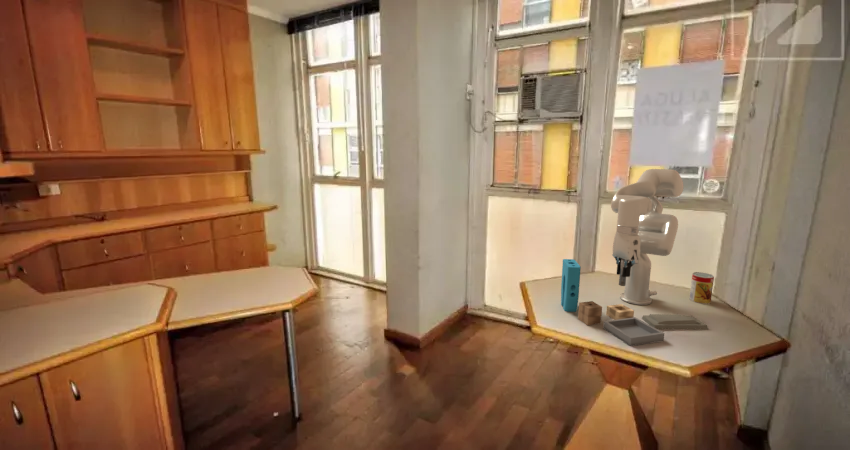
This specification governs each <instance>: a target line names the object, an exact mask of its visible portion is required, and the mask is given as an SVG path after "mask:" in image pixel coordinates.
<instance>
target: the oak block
mask: <svg viewBox="0 0 850 450" xmlns="http://www.w3.org/2000/svg"><path fill="white" fill-rule="evenodd" d="M634 314H635V310H634V309H632V308H630V307H628V306H626V305H625V304H622V303H619V304H611V305H610V304H609V305H606V311H605V315H606V316H607V317H608V318H611V319H612V320H618V319H625V318H633V317H635V315H634Z"/></svg>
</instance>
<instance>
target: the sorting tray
mask: <svg viewBox="0 0 850 450" xmlns="http://www.w3.org/2000/svg"><path fill="white" fill-rule="evenodd" d="M602 328H603V330H605V332H607V333H610V335H613V336H614V338H617V339H619V340H620V341H622V342H623V343H624V344H626V345H628V346H629V347H634V346H639V345H647V344H654V343H659V342H660V343H661V342H664V341H665V335H666V334H665V332H664V331H661V330H660V329H656V328H654V327H652V326H650V325H649V324H647V323H646V322H645V321H644V320H643V321H642V320H641V319H639V318H637V317H635V316H634V317H633V318H625V319H618V320H614V319H612V320H603V326H602Z"/></svg>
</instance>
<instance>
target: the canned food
mask: <svg viewBox="0 0 850 450" xmlns="http://www.w3.org/2000/svg"><path fill="white" fill-rule="evenodd" d="M714 280H715V275H713V274H712V273H708V272H704V271H703V272H702V271H694V272H692V274H691V284H690V290H689V297H688V298H689V300H690V301H691V302H693V303H698V304H703V305H706V304H707V305H708V304H710V303H712V295H713V287H714Z"/></svg>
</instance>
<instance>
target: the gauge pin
mask: <svg viewBox="0 0 850 450" xmlns="http://www.w3.org/2000/svg"><path fill="white" fill-rule="evenodd" d="M624 261H625V259H622V258H621V265H620V275H618V276H619V279H618V285H619V286H620V287H625V285H626V277H622V271H623V267H624Z"/></svg>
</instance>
